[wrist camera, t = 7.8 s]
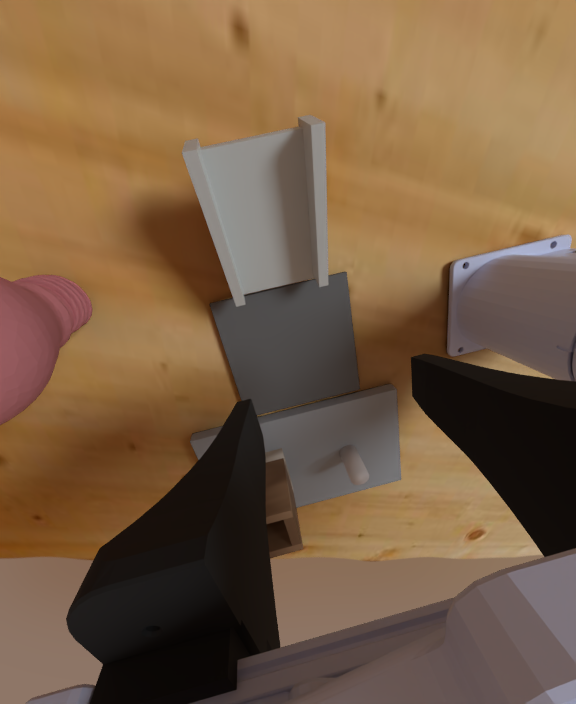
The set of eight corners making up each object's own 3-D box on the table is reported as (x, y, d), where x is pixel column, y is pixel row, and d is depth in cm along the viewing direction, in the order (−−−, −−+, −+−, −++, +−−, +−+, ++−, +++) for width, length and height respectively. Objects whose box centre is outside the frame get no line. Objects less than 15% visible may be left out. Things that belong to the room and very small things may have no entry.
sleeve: (281, 447, 24) (291, 510, 18) (291, 482, 25) (303, 549, 20) (233, 460, 23) (228, 527, 18) (246, 494, 25) (245, 564, 20)
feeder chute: (298, 140, 16) (321, 90, 11) (320, 280, 19) (345, 294, 14) (198, 161, 15) (172, 121, 10) (237, 299, 19) (233, 321, 14)
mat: (344, 271, 19) (346, 272, 19) (358, 386, 23) (359, 389, 23) (210, 303, 19) (209, 304, 19) (247, 414, 23) (247, 417, 23)
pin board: (391, 383, 24) (416, 409, 20) (396, 472, 28) (418, 506, 24) (192, 433, 23) (181, 469, 19) (229, 516, 27) (226, 558, 24)
